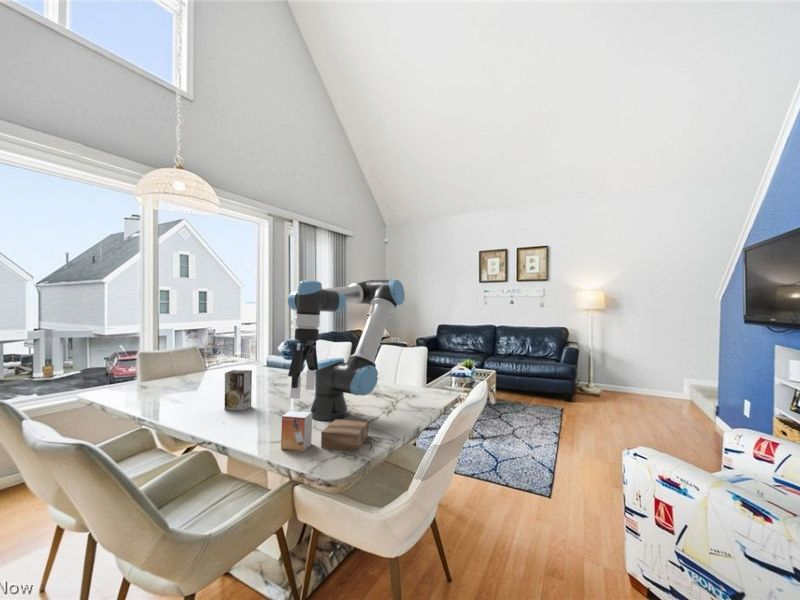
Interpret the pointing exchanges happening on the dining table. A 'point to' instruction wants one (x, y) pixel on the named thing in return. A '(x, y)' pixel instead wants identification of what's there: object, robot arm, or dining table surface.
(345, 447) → the walnut block
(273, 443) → the dining table surface
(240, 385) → the coffee box
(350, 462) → the dining table surface
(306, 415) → the small box
